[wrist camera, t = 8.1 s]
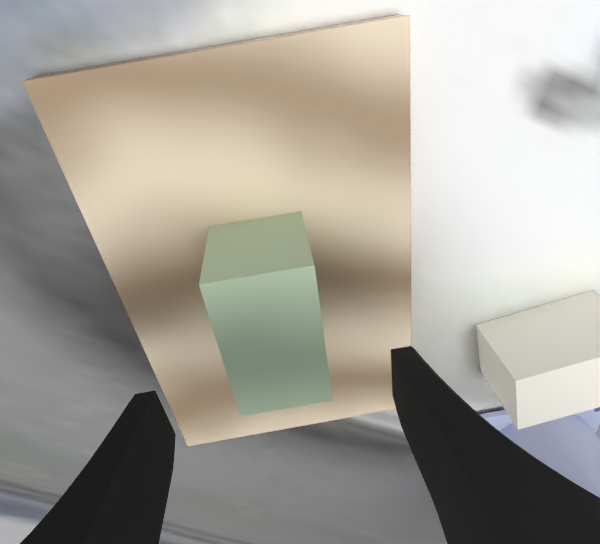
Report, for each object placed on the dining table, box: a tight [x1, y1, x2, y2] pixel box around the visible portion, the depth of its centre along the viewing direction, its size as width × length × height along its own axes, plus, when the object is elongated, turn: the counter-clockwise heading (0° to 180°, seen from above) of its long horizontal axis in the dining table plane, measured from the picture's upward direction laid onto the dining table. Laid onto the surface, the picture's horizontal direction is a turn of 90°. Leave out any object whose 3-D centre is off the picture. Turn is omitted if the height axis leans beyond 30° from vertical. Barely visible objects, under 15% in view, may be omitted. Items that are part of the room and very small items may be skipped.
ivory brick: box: [476, 290, 600, 429], centre depth 21 cm, size 6×4×4 cm, turn 107°
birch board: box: [22, 15, 411, 446], centre depth 18 cm, size 18×12×1 cm, turn 8°
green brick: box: [199, 211, 333, 417], centre depth 16 cm, size 6×4×4 cm, turn 8°
